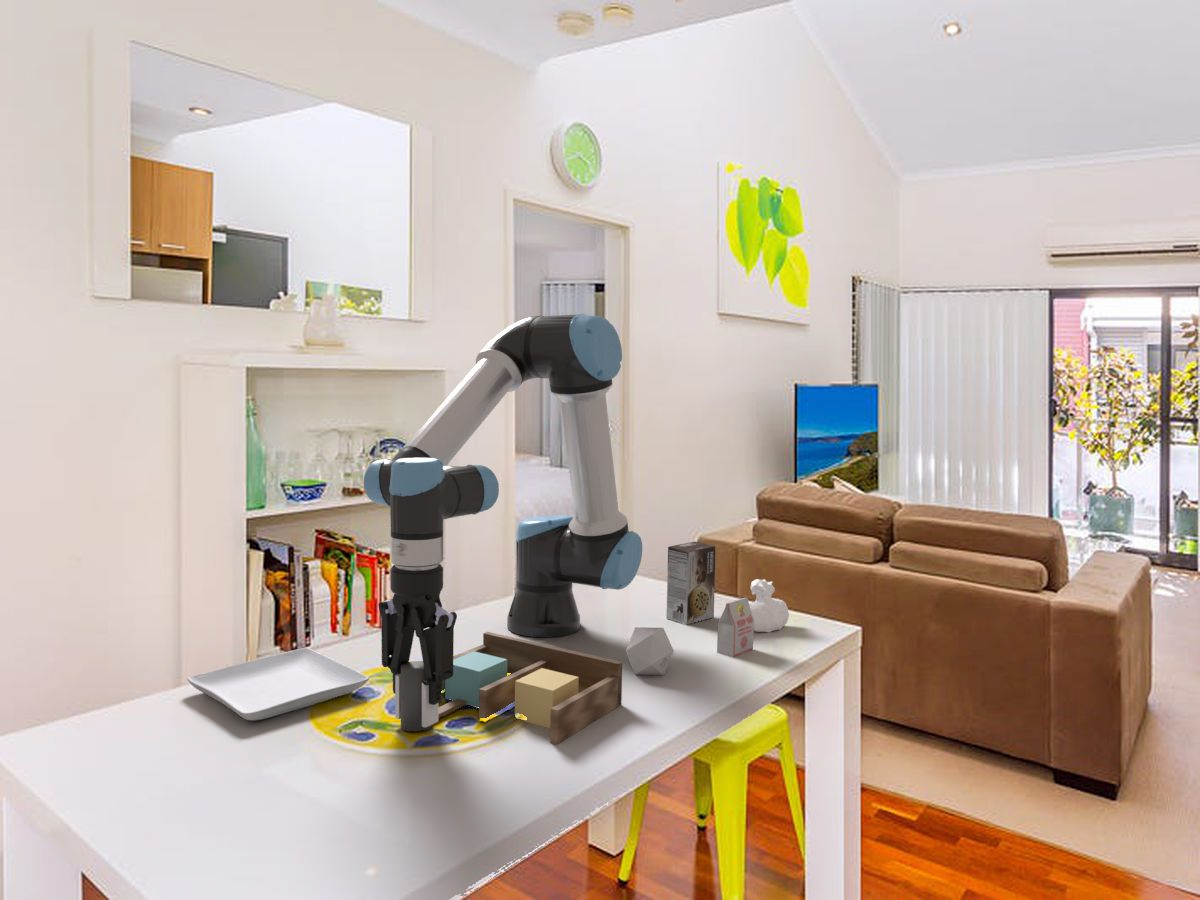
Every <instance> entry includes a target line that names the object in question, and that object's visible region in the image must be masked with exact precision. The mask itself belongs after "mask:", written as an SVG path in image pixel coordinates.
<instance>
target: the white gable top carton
mask: <svg viewBox="0 0 1200 900" xmlns="http://www.w3.org/2000/svg"><path fill="white" fill-rule="evenodd" d="M749 605H750V603H749V598H748V597H743V598H739V599H736V600H733V601H729V602H727V603H726V604H725V607H724V609H723V612H722V614H721V615H720V617H719V620H718V622H717V641H716V642H717V643H716V653H717V654H720V655H724V656H727V657H731V658H734V657H737V656H740V655H743V654H745V653H748V652H750V651H752V649H753V650H754V632H755V630H754V618H753V615H752V612H751V609H750V606H749ZM747 651H748V652H747ZM742 653H743V654H742Z"/></svg>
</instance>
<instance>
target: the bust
mask: <svg viewBox="0 0 1200 900" xmlns="http://www.w3.org/2000/svg"><path fill="white" fill-rule="evenodd" d="M773 583H774V582H773V581H767V580H766V579H765V578H764V579H759V578H756V579H754V580H752V581H751V584H750V590H751V594H752V596H754V595H755V597H756V598H755V601H753V602H751V603H749V606H750V609H751V612H752V615H753V618H754V632H756V633H759V632H760V633H767V632H769V633H771V632H773V631H778V630H779V631H780V630H782V628H783V627H784V626H786V624H788V620H789V616H790V613H789V608H788V606H787V603H786V602H785V601H784V600H783V599H780V598H774V597H772V595H773V593H774V592H775V591H776V590H775V587H774V586H773Z"/></svg>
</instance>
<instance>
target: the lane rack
mask: <svg viewBox="0 0 1200 900" xmlns="http://www.w3.org/2000/svg"><path fill="white" fill-rule="evenodd" d="M482 636H483V637H482V639H483V641H482V644H481V645H478V646H476V647H472V648H471V649H468V650H466V651H463V652H460V653H458V654H455V655H453V660H454V659H456V658H459V657H461V656H464V655H466V654H469V653H471V652H474V651H475V652H479V653H483V654H487V655H491V656H495V657H500V658H504V659H507V673H511V674H510V675H508V676H506V677H504V678H502V679H500V680H497V681H495V682H493V683H491V684H489V685H487V686H484V687H482V688H480V689H479V709H478V719H479V718H487V717H489V716H490V715H492V714H494V713H496V712H498V711H500V710H501V709H503V708H505V707H506V706H508V705H509V704H511V703H513V702H514V701H515V681H516V680H518V679H520V678H522V677H524V676H526V675H529V674H531V673H533V672H535V671H537V670H539V669H541V668H544V669H548V670H552V671H556V672H560V673H564V674H568V675H572V676H577V677H579V685H578V694H576V695H574V696H572V697H571V698H569V699H567V700H565V701H563V702H562V703H560V704H558V705H556V706H554V707H552V708H551V717H550V728H549V729H550V730H549V731H550V732H549V734H550V736H549V737H550V738H549V741H550V744H554V745H559V744H560V743H562V742H563V741H565V740H567V739H568V738H570V737H572V736H574V735H575V734H576V733H578V732H579V731H582V729H584V728H586V727H588V726H589V725H591V724H592V723H594V722H595V721H597V720H598V719H601V718H602V717H603V716H605V715H607V714H609V713H611V712H612V711H613V710H615V709H616V708H618V707H620V706H622V695H623V694H622V693H623V690H622V689H623V661H619V660H615V659H610V658H606V657H602V656H597V655H593V654H589V653H584V652H579V651H575V650H571V649H568V648H567V649H566V648H561V647H557V646H554V645H550V644H545V643H540V642H535V641H532V640H531V641H530V640H527V639H522V638H517V637H513V636H509V635H504V634H501V633H500V634H499V633H495V632H492V631H491V632H490V631H486V632H484V633H483V634H482ZM434 673H435V672H434ZM444 689H445V680H444V681H442V683H441V691H442V690H444Z"/></svg>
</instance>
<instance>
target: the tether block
mask: <svg viewBox="0 0 1200 900" xmlns="http://www.w3.org/2000/svg"><path fill="white" fill-rule="evenodd" d="M506 676H507V659H504V658H500V657H495V656H491V655H487V654H483V653H479V652H475V651H474V652H471V653H469V654H466V655H464V656H461V657H459V658H456V659H454V660H453V676H452V677H451V678H448V679H446V680H445V693H444V698H446V699H451V700H453V701H448V703H444V704H442V705H440V706H438V720H439V719H441V718H443V717H445V716H447V715H449V714H451V713H453V712H456V711H458V710H459V708H460V709H462V708H463V707H462V706H464V707H466V706H467V705H470V706H476V707H479V689H480V688H482V687H484V686H487V685H489V684H491V683H493V682H495V681H497V680H500V679H502V678H504V677H506ZM425 680H426V676H425V670H424V664H423V660H413V661H409V662H407V663H405V664H403V665H402V666H401V719H400V728H401V729H402V730H403V731H405V732H409V731H419V732H422V731H421V730H424V731H427V730H429V729H431V728H432V727H433V725H434V724H432V725H430V726H428V727H426V728H425V727H422V683H423V681H425ZM446 699H445V700H446ZM465 705H466V706H465ZM470 706H469V707H470ZM461 707H462V708H461ZM457 709H458V710H457ZM455 710H456V711H455ZM452 711H453V712H452ZM450 712H451V713H450ZM442 716H443V717H442ZM440 717H441V718H440ZM431 726H432V727H431ZM430 727H431V728H430ZM428 728H429V729H428ZM426 729H427V730H426Z"/></svg>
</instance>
